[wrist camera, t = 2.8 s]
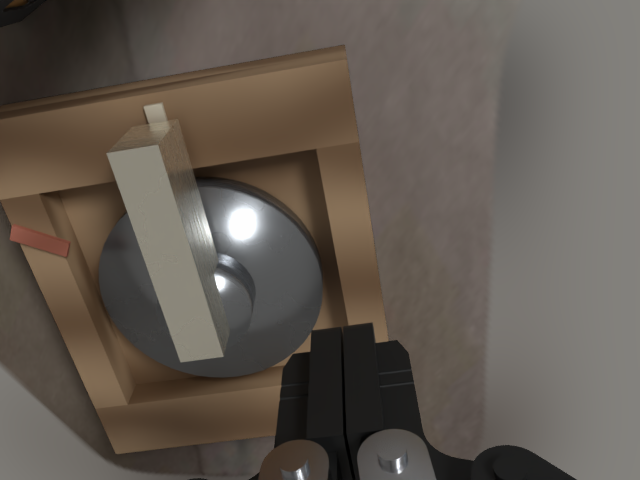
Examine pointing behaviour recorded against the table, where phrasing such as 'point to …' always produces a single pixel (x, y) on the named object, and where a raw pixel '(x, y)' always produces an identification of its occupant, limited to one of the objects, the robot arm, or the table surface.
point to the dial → (204, 263)
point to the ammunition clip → (16, 10)
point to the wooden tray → (207, 161)
